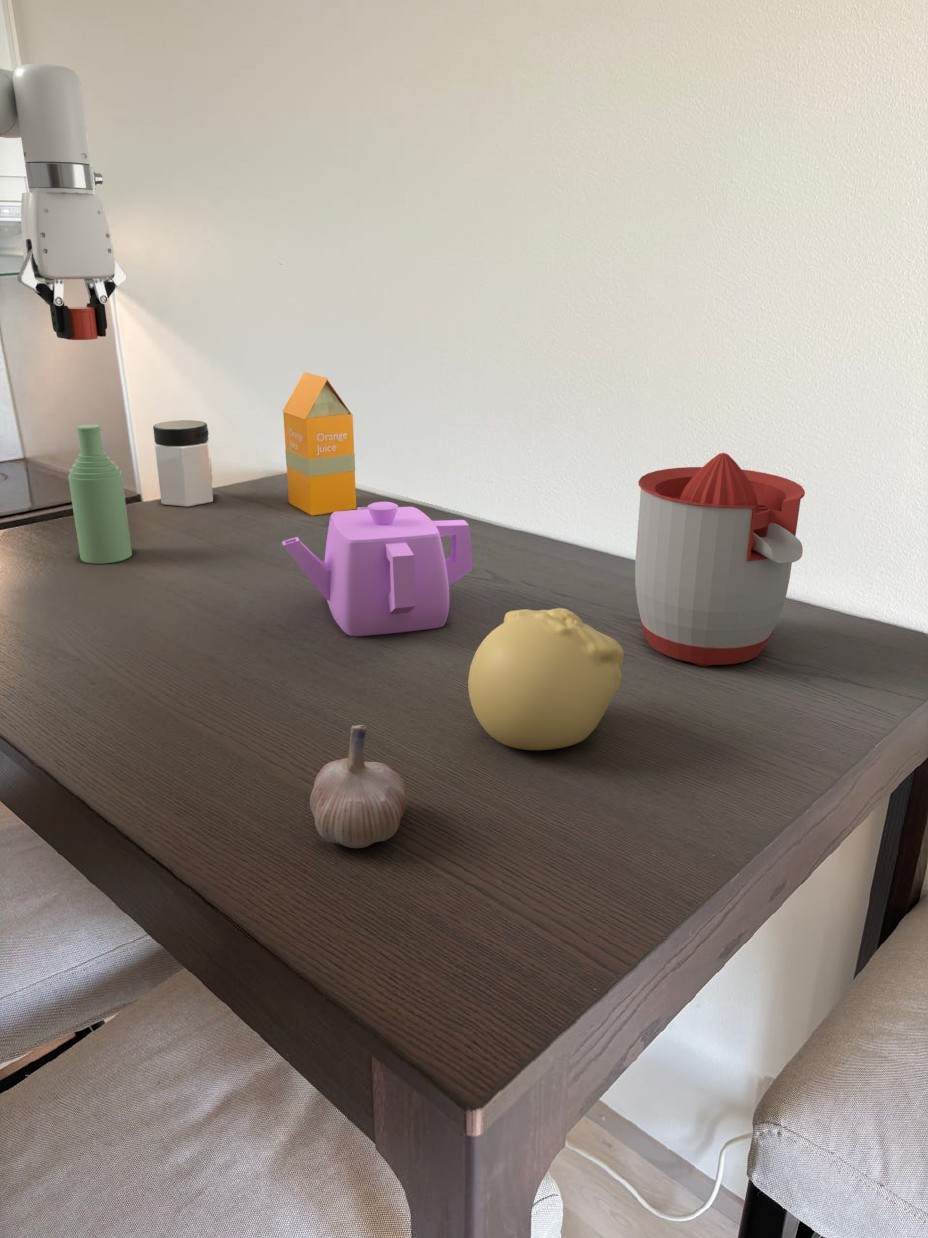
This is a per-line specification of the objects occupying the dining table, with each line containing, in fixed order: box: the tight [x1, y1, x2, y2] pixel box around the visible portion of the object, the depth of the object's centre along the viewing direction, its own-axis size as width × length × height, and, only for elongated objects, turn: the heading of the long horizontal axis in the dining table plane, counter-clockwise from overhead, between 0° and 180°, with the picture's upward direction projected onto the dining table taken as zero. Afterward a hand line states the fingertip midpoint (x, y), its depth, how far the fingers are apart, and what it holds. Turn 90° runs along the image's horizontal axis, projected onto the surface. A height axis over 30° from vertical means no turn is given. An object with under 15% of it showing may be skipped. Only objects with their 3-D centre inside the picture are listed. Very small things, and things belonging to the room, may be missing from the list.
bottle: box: [67, 423, 133, 565], centre depth 122 cm, size 6×6×17 cm
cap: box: [67, 306, 99, 341], centre depth 123 cm, size 4×4×4 cm
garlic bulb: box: [309, 724, 407, 849], centre depth 66 cm, size 8×7×8 cm
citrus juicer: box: [634, 452, 806, 667], centre depth 94 cm, size 16×17×20 cm
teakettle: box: [281, 501, 474, 637], centre depth 105 cm, size 17×17×12 cm
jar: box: [152, 419, 214, 508], centre depth 150 cm, size 9×8×12 cm
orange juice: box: [281, 371, 357, 516], centre depth 146 cm, size 8×9×20 cm
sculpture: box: [467, 607, 625, 751], centre depth 79 cm, size 12×12×11 cm
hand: (81, 335), depth 123 cm, fingers closed on cap, 3 cm apart
